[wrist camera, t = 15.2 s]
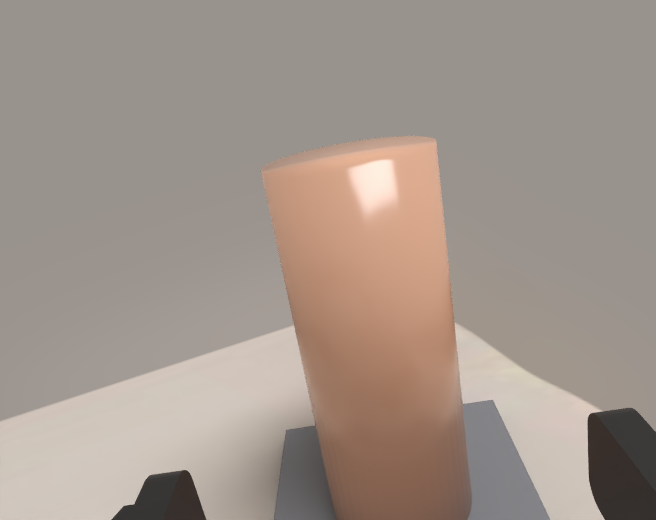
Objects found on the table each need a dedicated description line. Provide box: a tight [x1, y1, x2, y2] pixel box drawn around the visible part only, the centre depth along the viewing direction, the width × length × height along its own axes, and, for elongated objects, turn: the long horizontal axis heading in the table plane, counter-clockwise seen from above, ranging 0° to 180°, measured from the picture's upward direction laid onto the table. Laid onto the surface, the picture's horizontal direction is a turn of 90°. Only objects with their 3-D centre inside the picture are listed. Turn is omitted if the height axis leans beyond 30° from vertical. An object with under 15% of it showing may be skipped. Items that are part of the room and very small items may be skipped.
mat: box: [274, 400, 550, 520], centre depth 25 cm, size 12×12×1 cm
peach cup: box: [261, 136, 472, 520], centre depth 23 cm, size 9×6×16 cm
